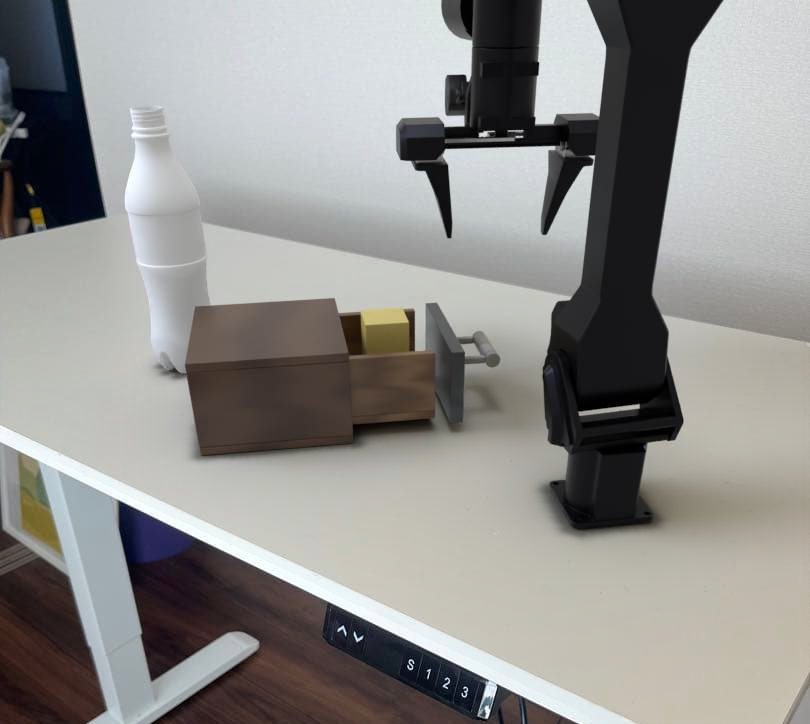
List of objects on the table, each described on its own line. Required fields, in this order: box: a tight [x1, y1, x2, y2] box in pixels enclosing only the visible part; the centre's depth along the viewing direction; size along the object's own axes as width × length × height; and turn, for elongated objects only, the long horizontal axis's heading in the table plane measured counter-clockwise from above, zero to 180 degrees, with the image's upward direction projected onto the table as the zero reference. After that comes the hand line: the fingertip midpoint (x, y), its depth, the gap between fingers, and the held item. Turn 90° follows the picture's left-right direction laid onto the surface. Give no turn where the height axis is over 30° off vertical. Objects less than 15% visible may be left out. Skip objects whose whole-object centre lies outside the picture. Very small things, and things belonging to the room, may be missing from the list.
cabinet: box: [185, 297, 354, 456], centre depth 77 cm, size 14×15×9 cm
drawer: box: [338, 302, 501, 425], centre depth 78 cm, size 17×13×7 cm
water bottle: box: [124, 105, 211, 375], centre depth 82 cm, size 7×7×25 cm
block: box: [360, 307, 409, 355], centre depth 77 cm, size 4×4×7 cm
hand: (496, 235), depth 79 cm, fingers open, 9 cm apart
